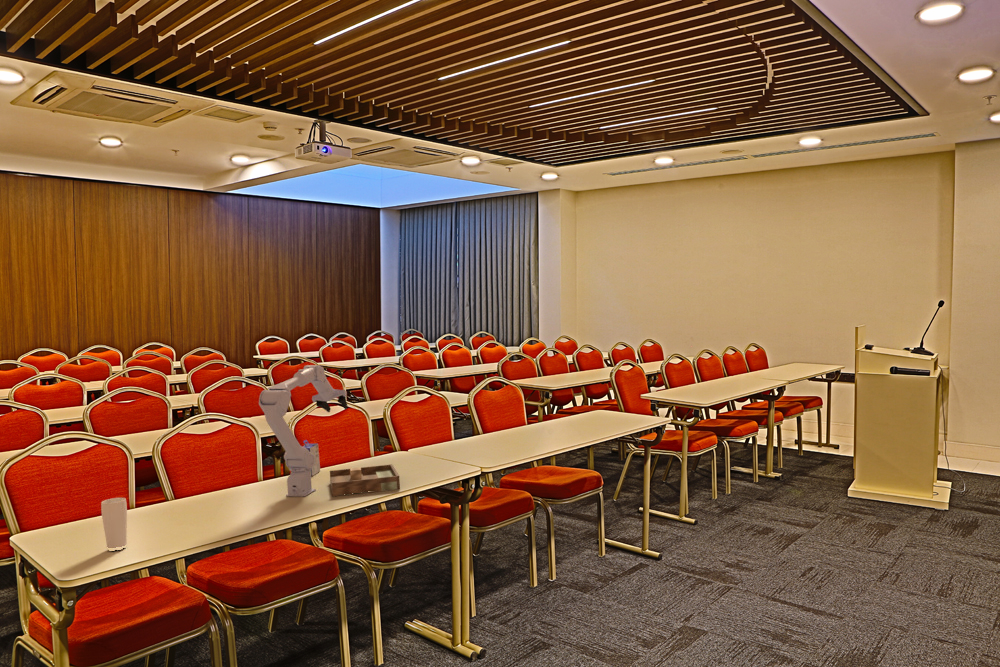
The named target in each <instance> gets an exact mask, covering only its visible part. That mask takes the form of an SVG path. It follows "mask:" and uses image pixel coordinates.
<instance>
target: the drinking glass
mask: <svg viewBox="0 0 1000 667" xmlns="http://www.w3.org/2000/svg"><path fill="white" fill-rule="evenodd" d="M127 504H128V503H127V499H126V497H113V498H108V499H105V500H102V501H101V504H100V508H101V509H100V510H101V519H102V525H103V529H104V530H103V531H104V536H105V537H104V538H105V542H106V548H107V547H108V548H116V547H122V546H125V545H126V544H127V545H128V542H127V540H128V539H127V538H128V536H127V534H128V530H127V527H128V507H127V506H128V505H127Z"/></svg>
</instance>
